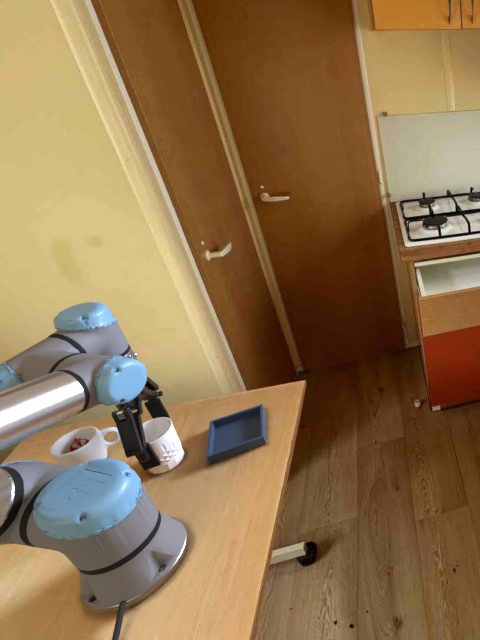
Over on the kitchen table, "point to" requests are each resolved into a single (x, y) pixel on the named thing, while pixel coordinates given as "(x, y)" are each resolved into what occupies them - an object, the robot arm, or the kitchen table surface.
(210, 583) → the kitchen table surface
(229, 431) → the tray
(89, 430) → the cup
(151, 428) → the white cup
